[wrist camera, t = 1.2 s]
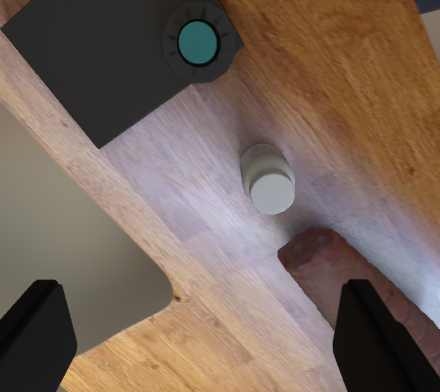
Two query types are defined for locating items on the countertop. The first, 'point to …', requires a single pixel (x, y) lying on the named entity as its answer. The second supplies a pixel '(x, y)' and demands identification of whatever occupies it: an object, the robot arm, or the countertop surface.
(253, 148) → the pill bottle
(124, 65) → the scale
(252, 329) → the countertop surface
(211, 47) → the button
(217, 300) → the countertop surface
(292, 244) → the food
